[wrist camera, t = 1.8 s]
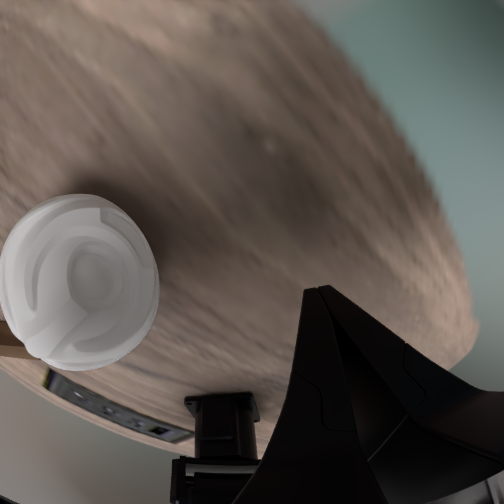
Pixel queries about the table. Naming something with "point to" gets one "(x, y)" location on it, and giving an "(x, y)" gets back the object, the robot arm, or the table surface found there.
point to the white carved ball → (78, 282)
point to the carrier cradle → (12, 344)
